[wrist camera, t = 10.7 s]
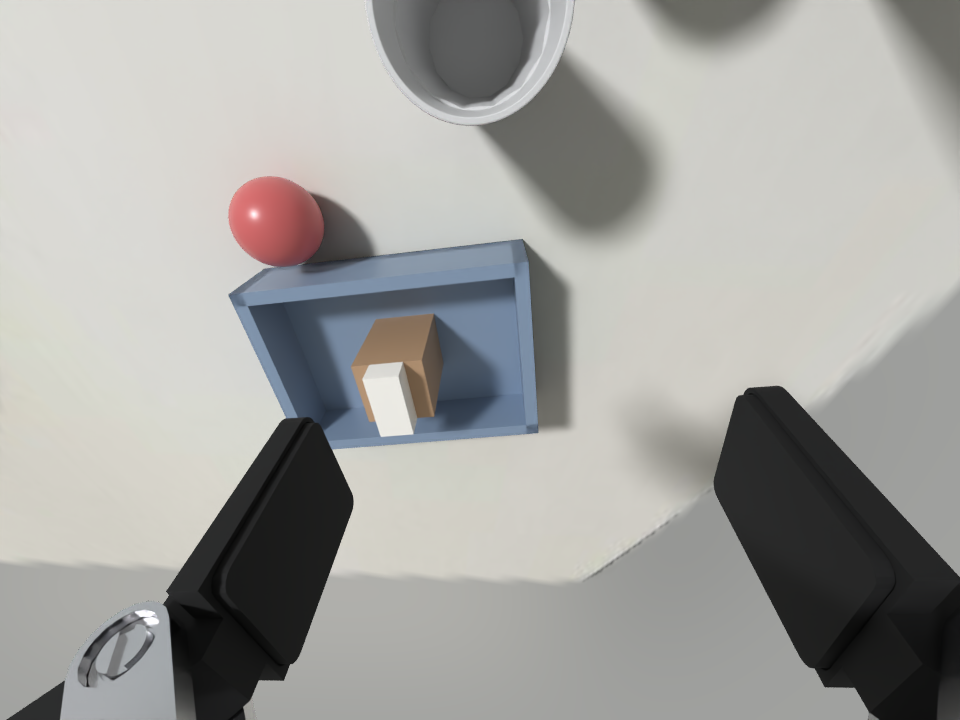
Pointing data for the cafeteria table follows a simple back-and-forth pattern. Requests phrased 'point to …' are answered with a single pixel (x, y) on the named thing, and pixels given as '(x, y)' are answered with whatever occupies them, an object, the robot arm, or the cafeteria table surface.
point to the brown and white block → (399, 372)
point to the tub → (396, 293)
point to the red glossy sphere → (276, 221)
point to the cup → (470, 52)
